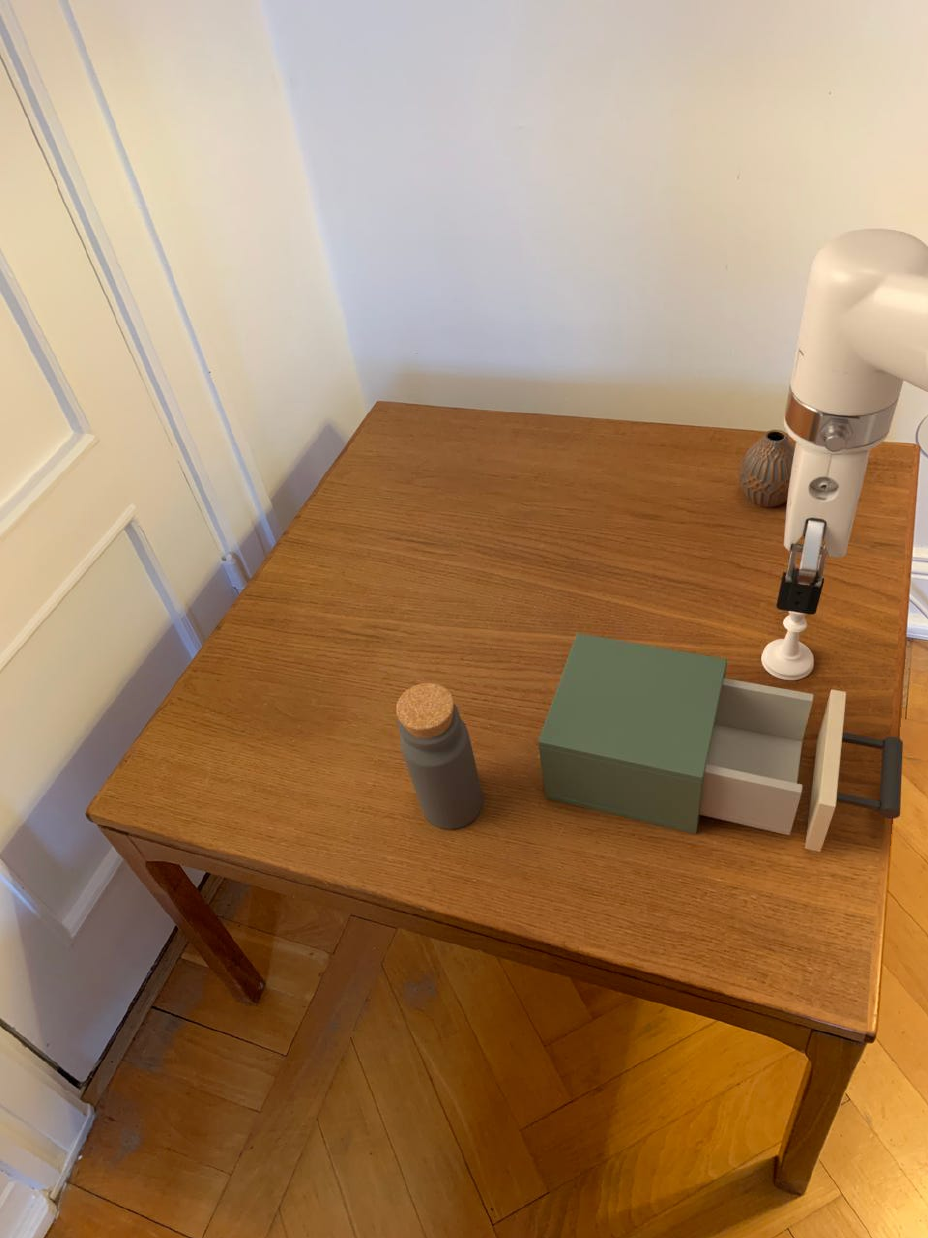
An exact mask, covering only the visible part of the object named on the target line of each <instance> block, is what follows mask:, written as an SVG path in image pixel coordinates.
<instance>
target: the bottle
mask: <svg viewBox="0 0 928 1238" xmlns="http://www.w3.org/2000/svg"><path fill="white" fill-rule="evenodd" d="M395 710H396V717H397V718H398V730H399V733H400V740H399V741H400V749H401V753H402V757H403V759H404V762H405V765H406V768H407V771H408V775H409V777H410V780H411V783H412V786H413V789H414V792H415V795H416V798H417V801H418V803H419V807H420V809H421V811H422V814H423V816H424V817H425V819H426V820H427V821H428V823H430V824H431V825H432V826H434V827H436V828H439V829H441V830H450V831H451V830H458V829H461V828H463V827H465V826H467V825H469V824H470V823H472V822H473V821H474V820H475V819H476V818H477V817H478V815H479V814H480V812H481V810H482V807H483V804H484V803H483V802H484V797H483V790H482V785H481V781H480V777H479V776H480V775H479V772H478V768H477V762H476V759H475V755H474V751H473V747H472V742H471V739H470V734H469V731H468V730H469V729H468V727H467V725H466V723H465V722H464V721H463V719H462V718H461V715H460V711H459V708H458V706H457V705H456V704H455V700H454V696H453V695H452V693H451V691H450V690H449V689H448V688H447V687H445V686H443V685H442V684H440V683H435V682H423V683H419V684H416V685H413V686H411V687H409V688H407V690H405V691H403V693H402V694H401V696H400V697H399V699H398V700H397V703H396V707H395Z"/></svg>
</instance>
